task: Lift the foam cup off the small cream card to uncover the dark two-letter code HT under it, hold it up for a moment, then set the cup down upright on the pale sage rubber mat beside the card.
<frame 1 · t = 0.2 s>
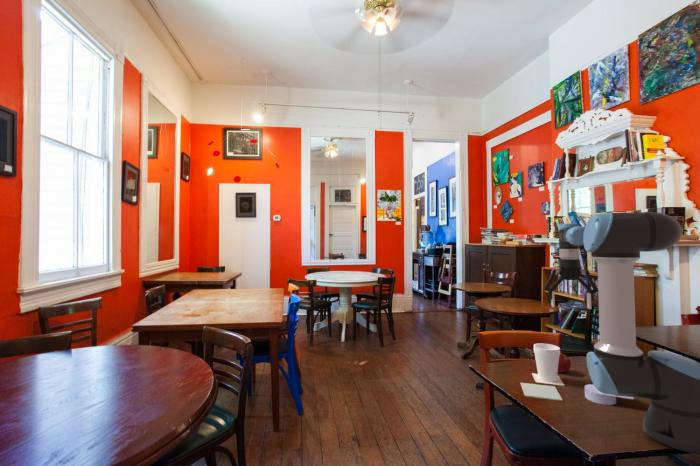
hand: (570, 307, 148), 28 cm above the table, tool pointing down, fingers open, 13 cm apart
foam cup: (547, 379, 139), on the table, touching code card
sage mat: (540, 391, 128), on the table
tape dispenser: (607, 400, 121), on the table
code card: (547, 379, 139), on the table
apple: (560, 372, 147), on the table
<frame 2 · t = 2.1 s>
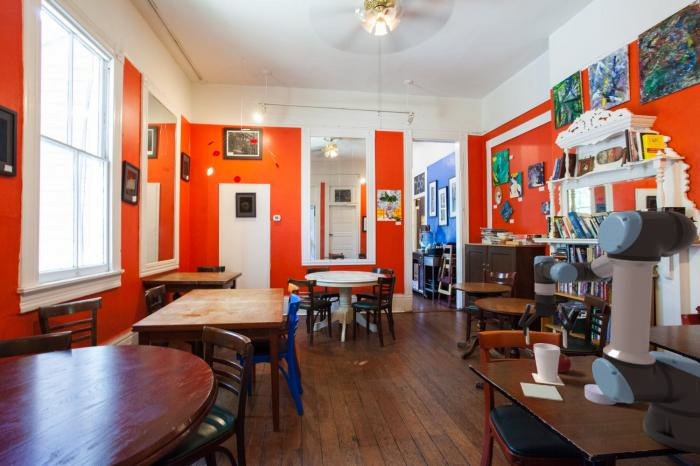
hand: (546, 345, 140), 14 cm above the table, tool pointing down, fingers open, 13 cm apart
nothing on the table moved.
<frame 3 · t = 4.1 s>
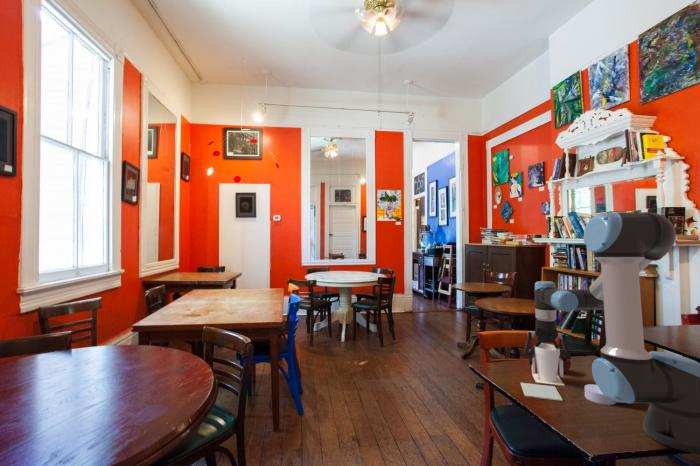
hand: (547, 374, 139), 2 cm above the table, tool pointing down, fingers closed on foam cup, 9 cm apart
foam cup: (547, 379, 139), on the table, touching code card, gripper
everything else where it was.
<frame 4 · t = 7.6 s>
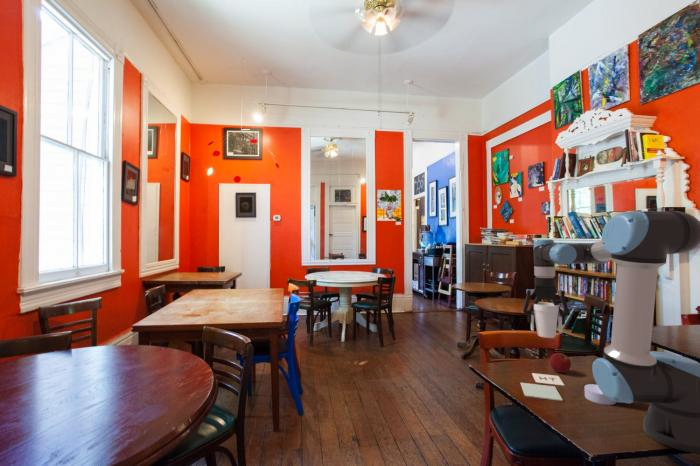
hand: (546, 331, 140), 19 cm above the table, tool pointing down, fingers closed on foam cup, 9 cm apart
foam cup: (546, 336, 140), point 17 cm above the table, touching gripper
everything else where it was.
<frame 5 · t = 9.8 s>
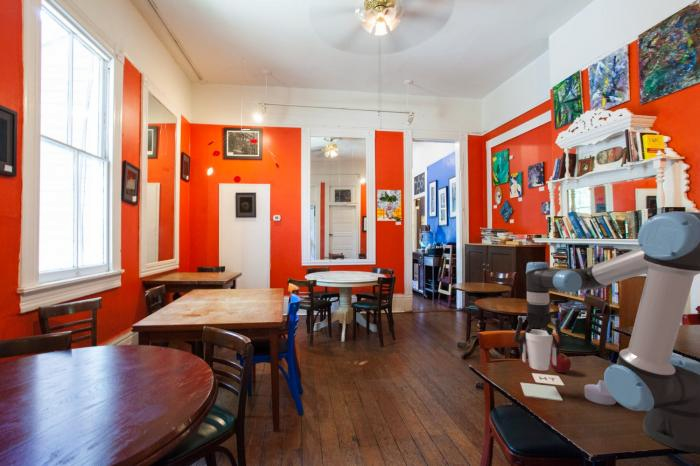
hand: (539, 362, 128), 11 cm above the table, tool pointing down, fingers closed on foam cup, 9 cm apart
foam cup: (539, 367, 128), point 9 cm above the table, touching gripper
everything else where it was.
when the fingers open (4 cm above the table, at t = 11.5 s): foam cup drops 2 cm, resting on sage mat.
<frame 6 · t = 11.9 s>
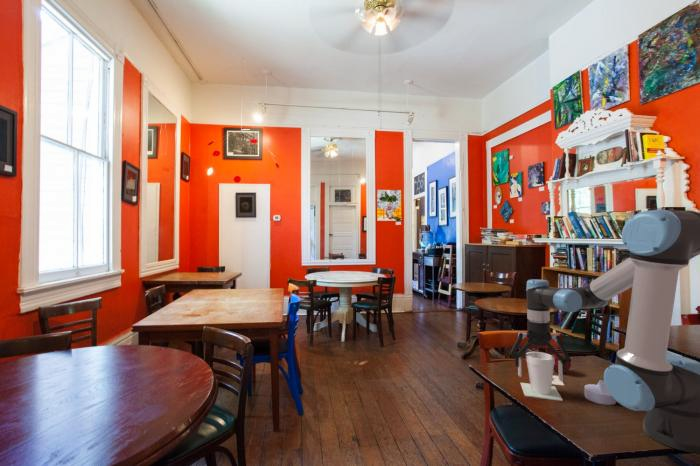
hand: (539, 377, 128), 5 cm above the table, tool pointing down, fingers open, 13 cm apart
foam cup: (540, 391, 128), resting on sage mat
everything else where it was.
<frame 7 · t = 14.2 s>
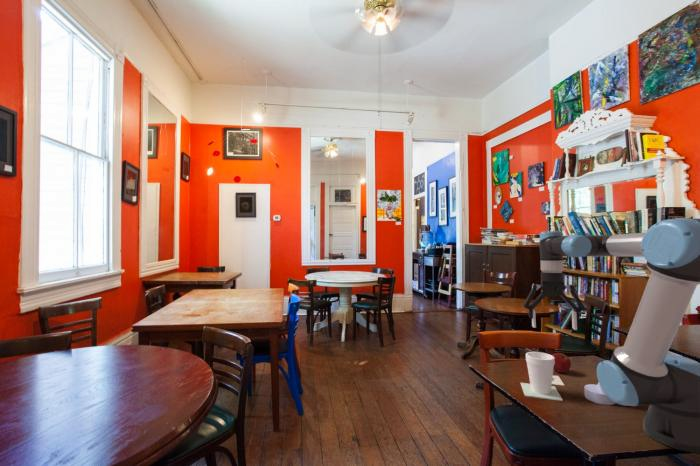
hand: (554, 328, 129), 24 cm above the table, tool pointing down, fingers open, 13 cm apart
nothing on the table moved.
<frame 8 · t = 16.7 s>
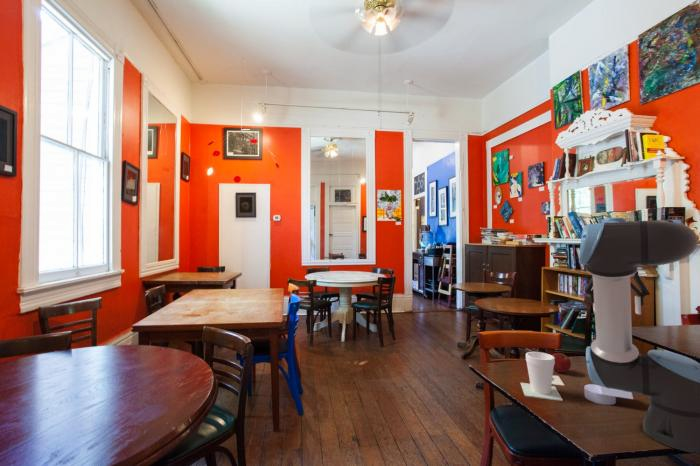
hand: (616, 312, 131), 29 cm above the table, tool pointing down, fingers open, 13 cm apart
nothing on the table moved.
at the end: foam cup inside the target area on the sage mat (0.2 cm from its centre), point 0.2 cm above the sage mat's base; foam cup tilted 0°; the gripper is holding nothing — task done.
